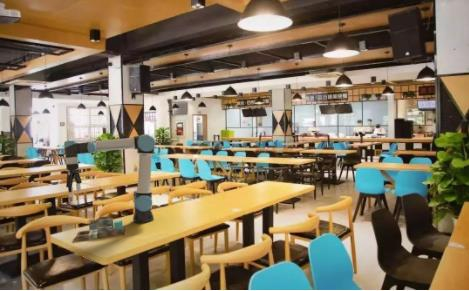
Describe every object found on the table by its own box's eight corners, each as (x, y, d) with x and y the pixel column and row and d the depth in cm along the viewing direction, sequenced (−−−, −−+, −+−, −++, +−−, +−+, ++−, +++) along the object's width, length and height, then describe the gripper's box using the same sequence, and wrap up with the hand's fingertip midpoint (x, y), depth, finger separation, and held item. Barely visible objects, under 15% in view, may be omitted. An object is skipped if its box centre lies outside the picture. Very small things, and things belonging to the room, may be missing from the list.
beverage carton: (88, 232, 244) (88, 223, 243) (100, 224, 263) (99, 216, 262) (100, 232, 243) (99, 222, 243) (110, 224, 263) (110, 215, 262)
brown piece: (124, 230, 244) (123, 217, 244) (124, 235, 233) (123, 221, 232) (78, 235, 236) (77, 222, 236) (76, 241, 225) (74, 227, 224)
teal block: (122, 227, 240) (122, 220, 240) (122, 229, 235) (121, 221, 235) (114, 228, 239) (114, 220, 239) (114, 230, 234) (113, 222, 234)
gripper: (73, 162, 251) (76, 191, 252) (58, 166, 226) (61, 199, 228) (84, 161, 252) (87, 191, 253) (70, 165, 227) (73, 198, 228)
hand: (75, 194), depth 240 cm, fingers open, 13 cm apart
